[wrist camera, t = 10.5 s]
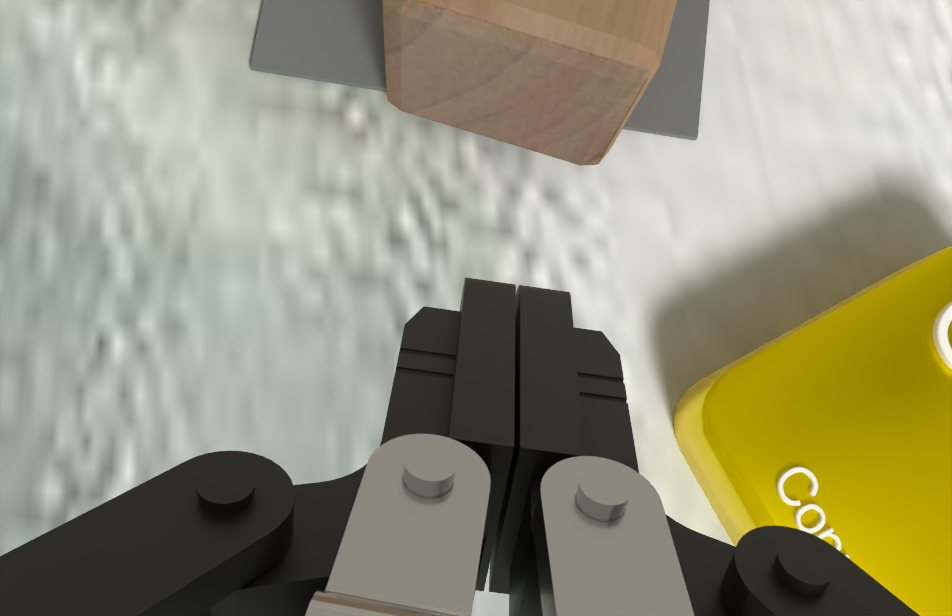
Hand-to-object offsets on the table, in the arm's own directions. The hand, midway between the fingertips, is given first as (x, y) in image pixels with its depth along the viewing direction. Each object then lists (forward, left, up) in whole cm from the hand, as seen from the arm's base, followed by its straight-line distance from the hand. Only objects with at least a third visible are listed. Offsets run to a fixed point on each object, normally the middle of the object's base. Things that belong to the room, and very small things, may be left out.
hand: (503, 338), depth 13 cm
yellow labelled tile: (-1, +19, -26) cm, 32 cm away
